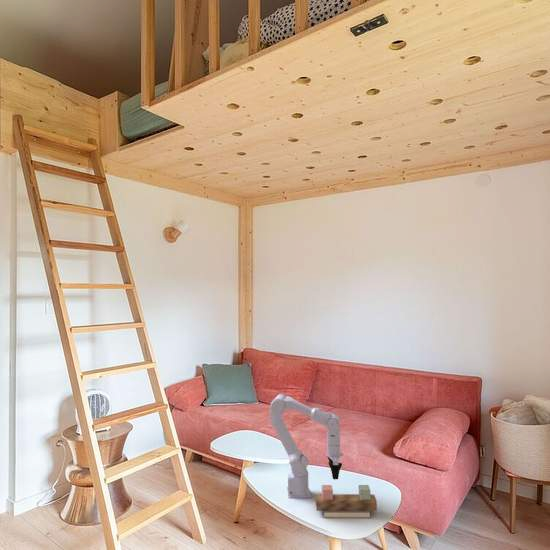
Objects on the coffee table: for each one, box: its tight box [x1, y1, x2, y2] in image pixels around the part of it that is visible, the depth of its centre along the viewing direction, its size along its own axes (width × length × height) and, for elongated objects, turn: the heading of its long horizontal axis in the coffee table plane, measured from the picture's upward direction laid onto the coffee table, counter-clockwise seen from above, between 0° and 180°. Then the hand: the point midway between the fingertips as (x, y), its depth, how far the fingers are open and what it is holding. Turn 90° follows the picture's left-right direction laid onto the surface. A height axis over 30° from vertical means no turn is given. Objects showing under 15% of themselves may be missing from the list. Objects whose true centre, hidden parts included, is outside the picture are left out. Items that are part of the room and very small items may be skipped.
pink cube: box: [321, 484, 334, 500], centre depth 164 cm, size 4×4×4 cm
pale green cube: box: [358, 484, 371, 500], centre depth 163 cm, size 4×4×4 cm
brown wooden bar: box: [315, 493, 378, 512], centre depth 163 cm, size 24×5×4 cm, turn 88°
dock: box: [322, 511, 371, 518], centre depth 163 cm, size 18×7×2 cm, turn 88°
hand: (334, 475), depth 176 cm, fingers open, 7 cm apart
